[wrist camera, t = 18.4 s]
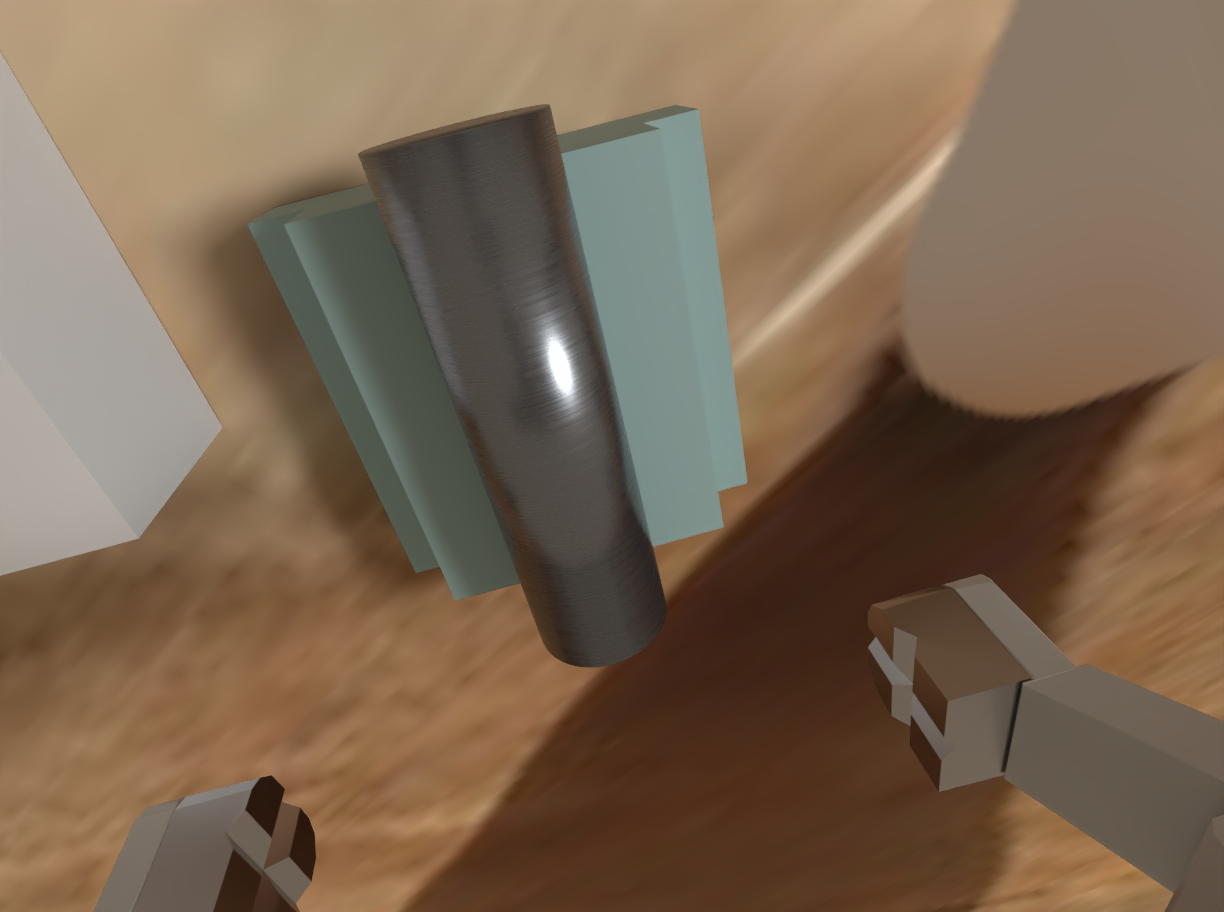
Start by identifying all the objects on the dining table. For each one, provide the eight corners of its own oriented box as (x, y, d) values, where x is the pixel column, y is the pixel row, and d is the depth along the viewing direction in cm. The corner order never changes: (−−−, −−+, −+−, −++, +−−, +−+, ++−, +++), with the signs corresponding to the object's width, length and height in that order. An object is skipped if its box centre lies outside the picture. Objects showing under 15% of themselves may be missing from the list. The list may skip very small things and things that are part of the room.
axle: (379, 142, 15) (335, 165, 12) (547, 100, 15) (552, 110, 12) (539, 587, 23) (541, 681, 19) (655, 560, 23) (677, 649, 19)
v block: (273, 207, 19) (219, 240, 15) (675, 105, 20) (721, 112, 16) (421, 531, 25) (409, 613, 22) (726, 449, 26) (767, 515, 22)
